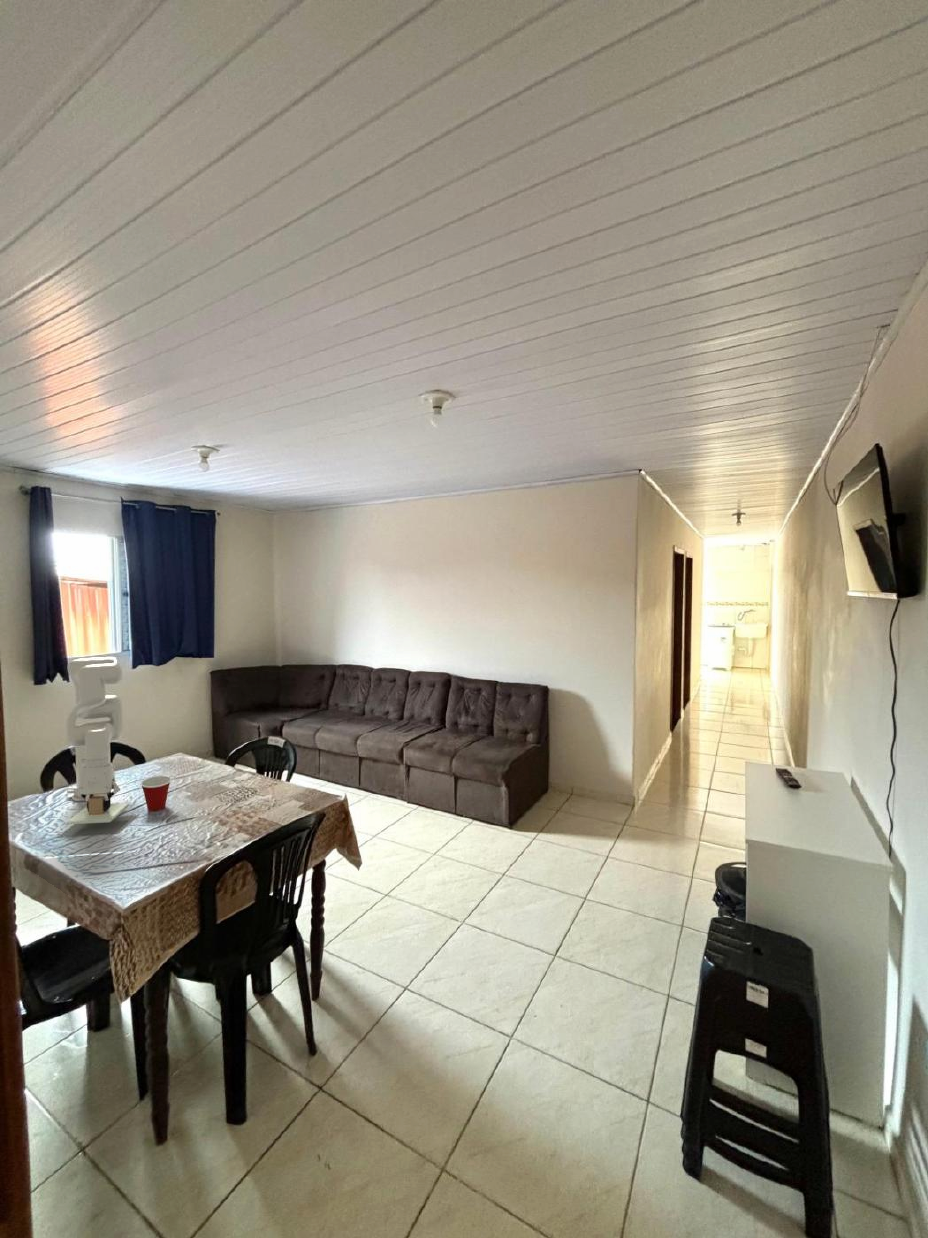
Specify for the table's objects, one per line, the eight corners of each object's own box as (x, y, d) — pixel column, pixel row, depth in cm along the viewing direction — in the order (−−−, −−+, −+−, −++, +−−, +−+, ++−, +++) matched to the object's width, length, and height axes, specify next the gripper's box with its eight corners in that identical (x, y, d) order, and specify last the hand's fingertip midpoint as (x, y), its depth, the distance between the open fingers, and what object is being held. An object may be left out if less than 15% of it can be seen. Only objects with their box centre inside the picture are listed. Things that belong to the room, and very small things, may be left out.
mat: (55, 839, 180) (55, 837, 180) (81, 820, 196) (81, 818, 195) (118, 835, 183) (118, 833, 183) (138, 816, 199) (138, 815, 199)
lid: (66, 824, 182) (66, 805, 181) (88, 807, 195) (88, 789, 195) (109, 822, 184) (109, 803, 184) (128, 806, 198) (128, 788, 197)
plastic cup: (141, 817, 198) (140, 787, 197) (140, 808, 207) (139, 779, 206) (173, 811, 204) (173, 781, 204) (170, 802, 213) (170, 773, 212)
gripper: (66, 766, 183) (67, 816, 184) (117, 764, 186) (118, 813, 187) (78, 759, 191) (79, 807, 192) (127, 757, 194) (128, 805, 195)
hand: (98, 809), depth 190 cm, fingers closed on lid, 4 cm apart
